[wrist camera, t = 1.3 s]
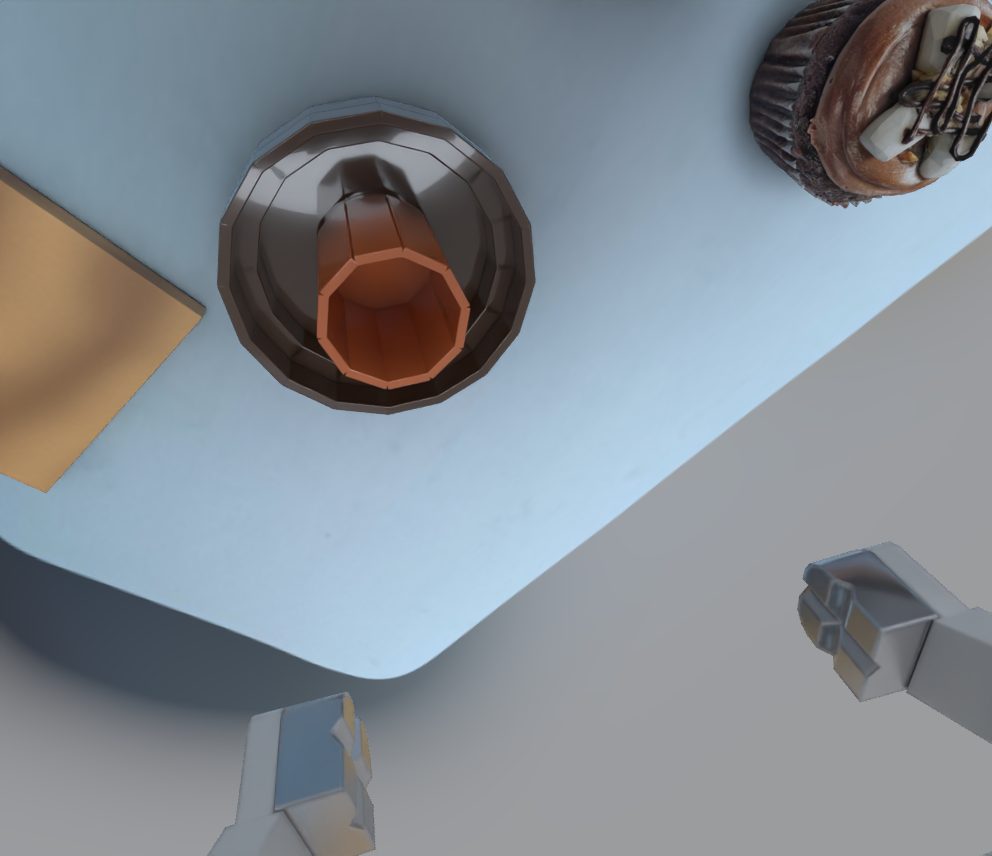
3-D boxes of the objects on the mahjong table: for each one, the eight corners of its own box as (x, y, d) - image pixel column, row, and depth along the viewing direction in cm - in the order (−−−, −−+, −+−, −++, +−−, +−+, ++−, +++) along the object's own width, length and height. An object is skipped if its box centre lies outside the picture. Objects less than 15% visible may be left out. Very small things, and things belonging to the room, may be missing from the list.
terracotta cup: (298, 205, 29) (293, 267, 23) (428, 181, 30) (459, 235, 24) (332, 320, 33) (337, 401, 27) (448, 296, 34) (479, 369, 27)
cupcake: (707, 175, 34) (828, 234, 26) (777, -48, 29) (955, -60, 21) (851, 190, 36) (1001, 248, 28) (939, -12, 31) (1154, -9, 23)
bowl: (180, 125, 27) (159, 147, 23) (494, 73, 29) (519, 86, 25) (283, 393, 35) (279, 440, 32) (521, 341, 37) (543, 379, 33)
